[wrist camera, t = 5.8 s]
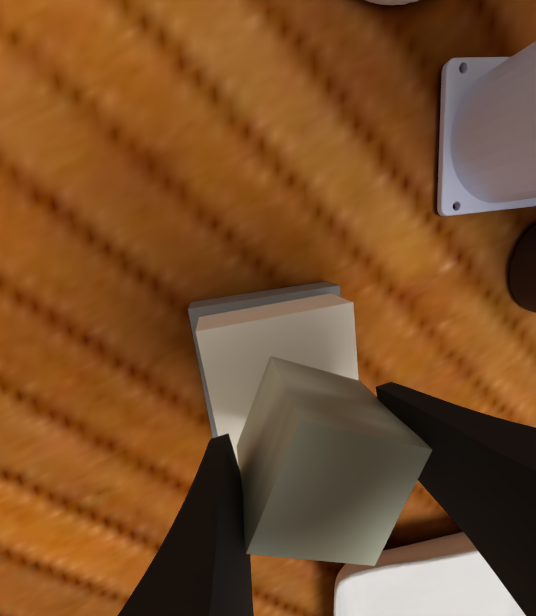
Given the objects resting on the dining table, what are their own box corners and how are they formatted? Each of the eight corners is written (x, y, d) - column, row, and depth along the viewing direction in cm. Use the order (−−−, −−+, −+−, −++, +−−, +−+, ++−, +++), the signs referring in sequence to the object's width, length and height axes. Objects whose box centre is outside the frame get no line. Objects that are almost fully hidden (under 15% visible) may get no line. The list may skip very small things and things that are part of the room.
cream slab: (330, 293, 15) (353, 301, 12) (340, 407, 16) (362, 434, 14) (198, 317, 14) (195, 331, 11) (223, 436, 15) (225, 471, 13)
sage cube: (359, 380, 11) (432, 449, 7) (324, 462, 12) (374, 566, 8) (270, 355, 10) (300, 419, 7) (236, 446, 11) (246, 553, 7)
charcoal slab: (322, 280, 17) (339, 285, 15) (331, 394, 19) (347, 415, 17) (192, 299, 16) (187, 309, 14) (214, 419, 18) (214, 446, 15)
